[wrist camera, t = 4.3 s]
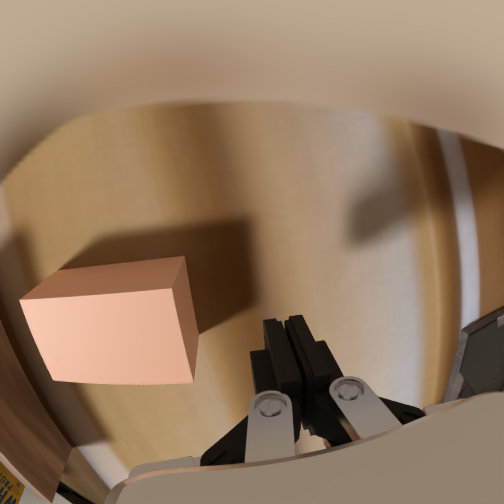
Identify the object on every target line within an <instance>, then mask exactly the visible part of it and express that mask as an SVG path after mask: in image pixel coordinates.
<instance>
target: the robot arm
mask: <svg viewBox="0 0 504 504" xmlns="http://www.w3.org/2000/svg"><path fill="white" fill-rule="evenodd" d="M284 324H285V330H284V327H283V324H282V322H281V321H277V320H276V318H274V319H267V320H263V328H264V341H265V350H258V351H250V359H251V368H252V376H253V382H254V389H255V395H256V396H254V397H253V398H252V400H251V401H250V404H249V415H247V416H246V417H245V418H244V419H243V420H242V421H241V422H240V423H239V424H237V425H236V426H235V427H234V428H233V429H232V430H231V431H229V432H228V433H227V434H226V435H225V436H224V437H222V438H221V439H220V440H219V441H218V442H216V443H215V444H214V445H213V446H212V447H210V448H209V449H208V450H207V451H206V452H205V453H204V454H203V455H202V456H200V457H196V458H193V457H192V456H188V457H183V458H178V459H173V460H167V461H161V462H155V463H148V464H142V465H138V466H136V467H135V468H133V469H132V470H131V472H130V473H129V478H128V479H126V480H123V481H122V482H120V483H118V484H117V485H115V486H114V487H113V489H112V490H111V491H110V493H109V495H108V496H107V498H106V501H105V503H104V504H504V392H502V391H494V392H487V393H482V394H478V395H475V396H472V397H469V398H465V399H458V400H454V401H450V402H445V403H441V404H436V405H431V406H426V407H424V409H423V410H420V409H419V408H416V407H414V406H410V405H406V404H402V403H399V402H395V401H392V400H388V399H385V398H381V397H378V396H377V395H376V394H375V393H374V392H373V391H372V389H371V388H370V387H369V386H368V385H367V384H366V382H364V381H363V380H362V379H360V378H357V377H353V376H345V377H344V376H343V374H342V372H341V370H340V368H339V366H338V364H337V362H336V361H335V359H334V357H333V355H332V353H331V351H330V349H329V348H328V346H327V344H326V342H325V341H324V340H322V341H317V342H315V340H314V338H313V336H312V334H311V332H310V330H309V328H308V326H307V324H306V322H305V320H304V318H303V316H302V315H295V316H289V320H285V322H284ZM301 422H302V425H303V428H304V430H306V429H309V432H310V436H312V435H317V436H319V437H322V438H323V443H324V445H325V447H326V449H323V450H319V451H314V452H309V453H305V454H300V455H295V446H294V444H295V443H296V442H297V440H298V439H299V436H300V430H301Z"/></svg>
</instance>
